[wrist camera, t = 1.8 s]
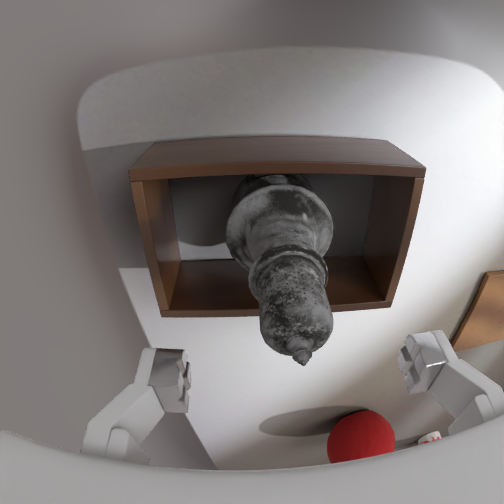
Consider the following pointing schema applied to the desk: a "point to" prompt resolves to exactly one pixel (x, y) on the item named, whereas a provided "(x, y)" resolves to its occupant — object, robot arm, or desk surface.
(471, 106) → the desk surface
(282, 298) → the grey stone turned piece
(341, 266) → the open wooden box
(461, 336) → the trivet
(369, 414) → the apple
